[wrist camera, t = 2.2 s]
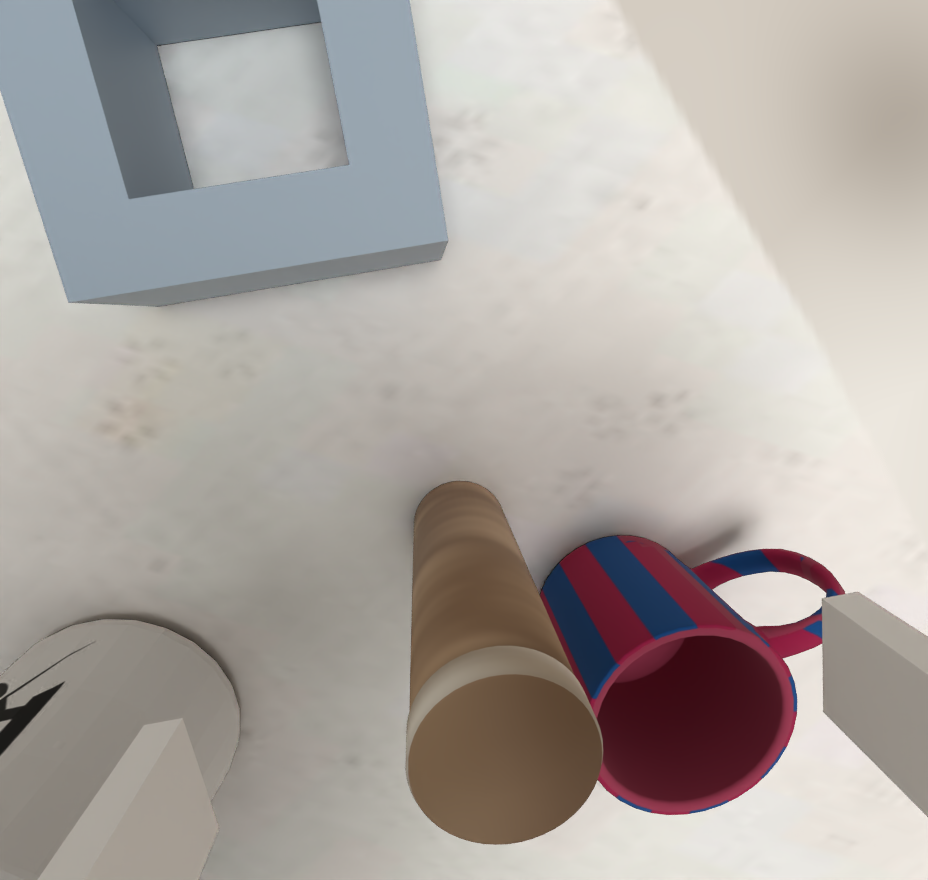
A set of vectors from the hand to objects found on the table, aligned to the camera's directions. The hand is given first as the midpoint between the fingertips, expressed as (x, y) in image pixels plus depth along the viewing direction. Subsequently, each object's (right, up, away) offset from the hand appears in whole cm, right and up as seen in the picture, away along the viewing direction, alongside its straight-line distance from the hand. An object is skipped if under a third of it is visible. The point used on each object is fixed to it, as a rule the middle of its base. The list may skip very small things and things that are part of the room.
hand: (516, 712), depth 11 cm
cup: (+7, -1, +12) cm, 14 cm away
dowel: (-1, +2, +11) cm, 11 cm away
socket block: (-8, +16, +7) cm, 19 cm away
